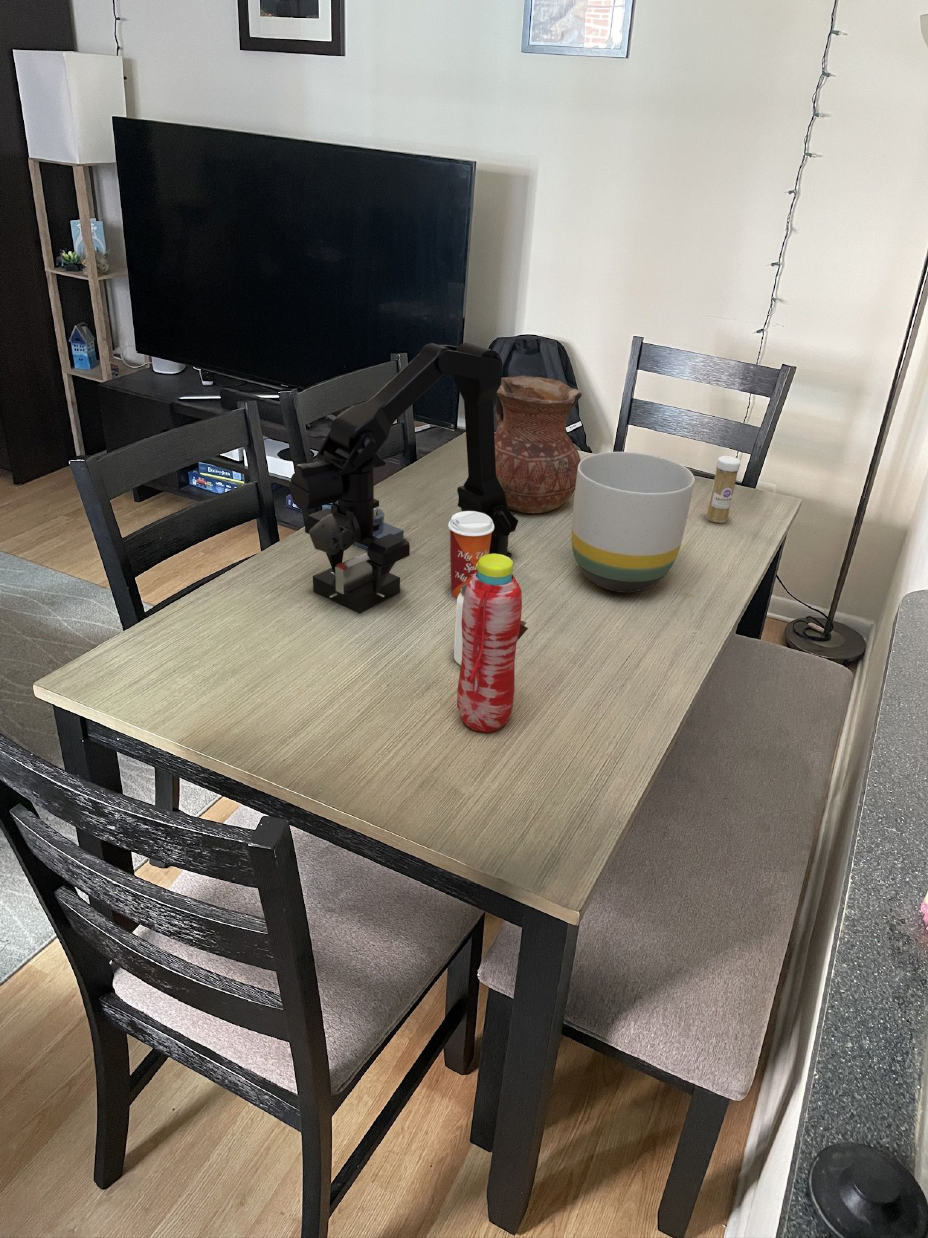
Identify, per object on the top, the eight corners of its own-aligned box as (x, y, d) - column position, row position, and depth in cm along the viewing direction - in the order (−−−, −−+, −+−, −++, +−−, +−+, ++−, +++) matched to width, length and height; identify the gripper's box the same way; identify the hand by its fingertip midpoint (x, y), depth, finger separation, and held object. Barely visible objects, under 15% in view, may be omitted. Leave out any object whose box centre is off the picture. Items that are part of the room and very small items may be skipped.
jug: (594, 499, 194) (609, 385, 182) (549, 531, 179) (562, 409, 166) (506, 475, 204) (514, 366, 191) (456, 503, 188) (462, 386, 176)
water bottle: (480, 685, 130) (491, 529, 118) (530, 701, 128) (547, 543, 115) (441, 728, 121) (449, 564, 108) (494, 747, 118) (509, 581, 106)
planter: (545, 567, 165) (557, 457, 154) (634, 553, 172) (652, 447, 161) (599, 617, 149) (617, 499, 139) (695, 600, 157) (718, 486, 146)
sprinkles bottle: (714, 525, 185) (727, 463, 179) (701, 516, 189) (713, 456, 182) (732, 522, 187) (745, 461, 180) (718, 514, 191) (731, 454, 184)
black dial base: (411, 597, 152) (411, 581, 151) (357, 626, 143) (357, 609, 142) (354, 572, 159) (354, 556, 158) (299, 598, 150) (298, 581, 149)
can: (491, 674, 133) (497, 604, 127) (449, 667, 134) (453, 598, 128) (499, 651, 139) (504, 583, 133) (458, 645, 140) (462, 577, 134)
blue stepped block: (407, 538, 172) (407, 519, 170) (374, 553, 166) (374, 534, 164) (367, 522, 178) (367, 504, 176) (334, 536, 172) (334, 517, 170)
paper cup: (457, 607, 150) (461, 531, 143) (437, 587, 156) (440, 513, 149) (498, 598, 153) (504, 524, 146) (476, 579, 159) (481, 506, 152)
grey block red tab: (369, 574, 152) (369, 549, 150) (377, 578, 151) (377, 553, 149) (335, 590, 147) (335, 565, 144) (343, 594, 146) (342, 568, 143)
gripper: (276, 492, 140) (282, 580, 148) (362, 527, 131) (363, 619, 138) (328, 474, 148) (330, 559, 156) (412, 506, 138) (410, 594, 146)
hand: (356, 582), depth 149 cm, fingers open, 9 cm apart
